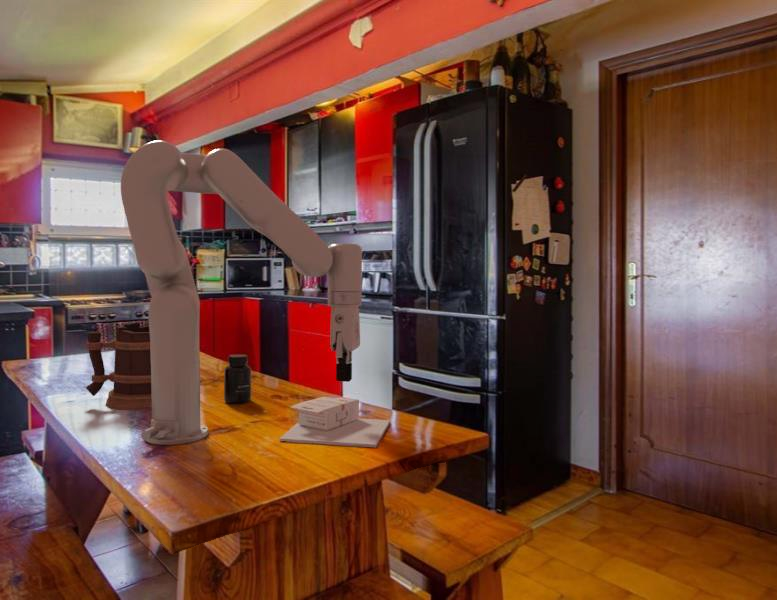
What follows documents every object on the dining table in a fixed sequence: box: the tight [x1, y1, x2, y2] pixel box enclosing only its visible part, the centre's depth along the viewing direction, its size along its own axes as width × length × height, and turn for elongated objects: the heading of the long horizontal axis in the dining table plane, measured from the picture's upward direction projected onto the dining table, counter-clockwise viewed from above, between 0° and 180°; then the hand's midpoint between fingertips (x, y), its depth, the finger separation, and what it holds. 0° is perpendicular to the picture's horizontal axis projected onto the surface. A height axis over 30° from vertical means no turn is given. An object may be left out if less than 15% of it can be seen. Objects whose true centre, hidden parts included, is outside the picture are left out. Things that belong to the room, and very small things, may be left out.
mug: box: [85, 321, 152, 411], centre depth 150 cm, size 18×23×20 cm
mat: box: [278, 418, 391, 448], centre depth 127 cm, size 18×20×1 cm
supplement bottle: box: [223, 354, 252, 405], centre depth 152 cm, size 7×7×12 cm
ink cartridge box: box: [289, 394, 360, 431], centre depth 130 cm, size 9×5×15 cm
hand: (344, 380), depth 132 cm, fingers closed
